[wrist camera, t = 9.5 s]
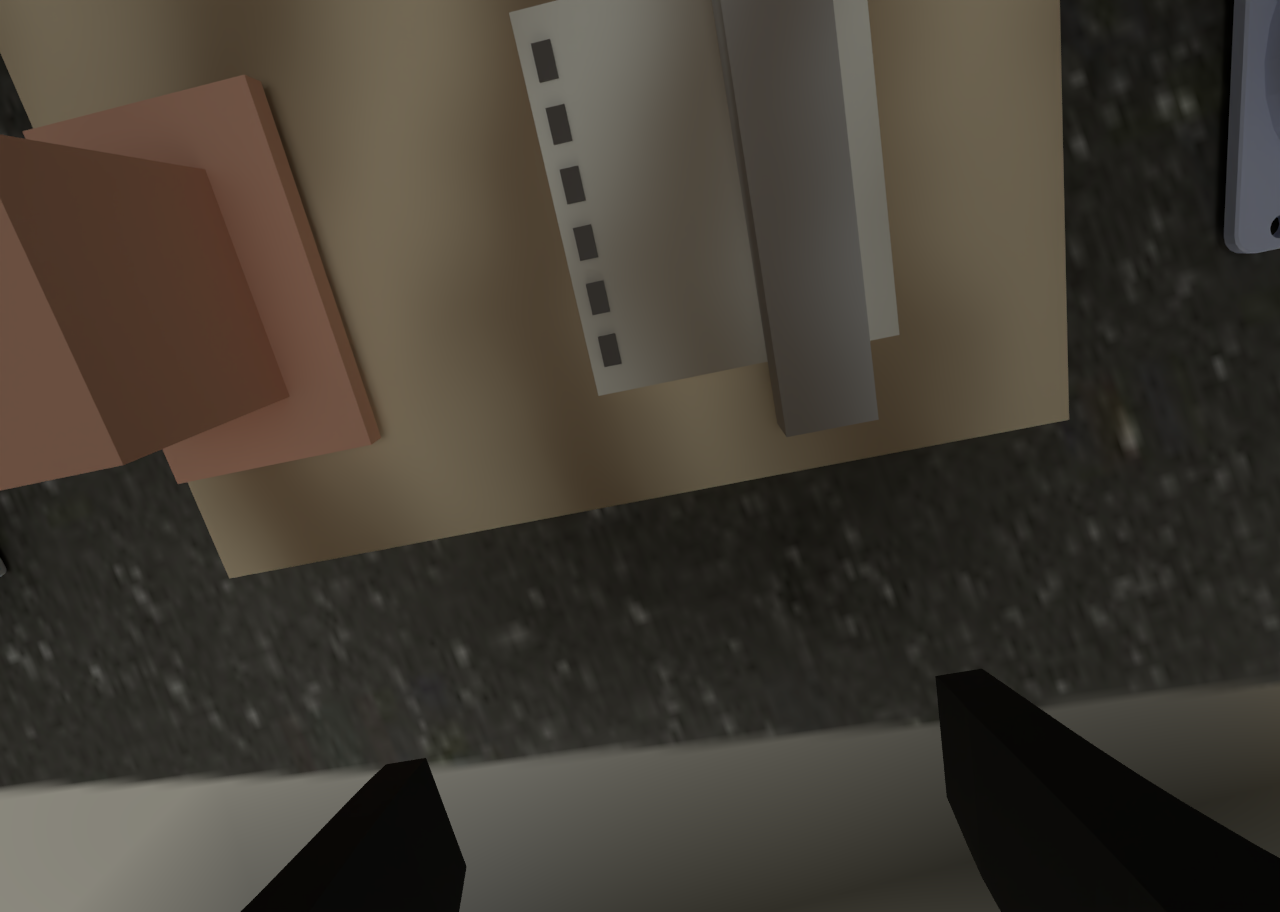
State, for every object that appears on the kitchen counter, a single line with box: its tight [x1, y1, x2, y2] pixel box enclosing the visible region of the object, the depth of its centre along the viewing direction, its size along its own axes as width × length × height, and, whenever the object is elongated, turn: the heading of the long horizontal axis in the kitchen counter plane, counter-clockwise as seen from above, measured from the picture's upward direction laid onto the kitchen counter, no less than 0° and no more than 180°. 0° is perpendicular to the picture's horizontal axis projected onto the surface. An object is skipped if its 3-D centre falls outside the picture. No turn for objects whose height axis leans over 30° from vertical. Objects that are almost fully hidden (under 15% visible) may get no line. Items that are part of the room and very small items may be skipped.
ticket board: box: [0, 0, 1069, 578], centre depth 15 cm, size 22×14×3 cm, turn 102°
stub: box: [0, 75, 381, 490], centre depth 13 cm, size 5×8×6 cm, turn 12°
